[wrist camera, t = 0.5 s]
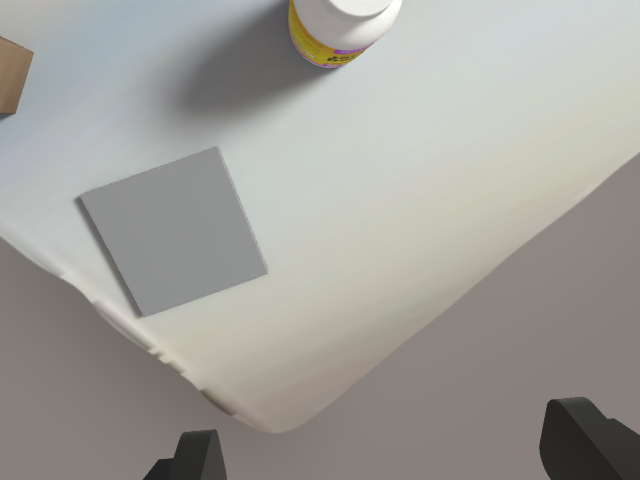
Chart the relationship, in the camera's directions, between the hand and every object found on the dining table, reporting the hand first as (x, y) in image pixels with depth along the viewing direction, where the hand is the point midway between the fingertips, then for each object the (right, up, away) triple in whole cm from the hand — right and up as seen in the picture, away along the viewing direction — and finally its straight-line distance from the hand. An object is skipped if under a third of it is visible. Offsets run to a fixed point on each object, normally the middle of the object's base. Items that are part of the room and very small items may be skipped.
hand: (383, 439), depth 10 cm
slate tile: (-14, +5, +26) cm, 30 cm away
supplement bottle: (-1, +22, +23) cm, 32 cm away
